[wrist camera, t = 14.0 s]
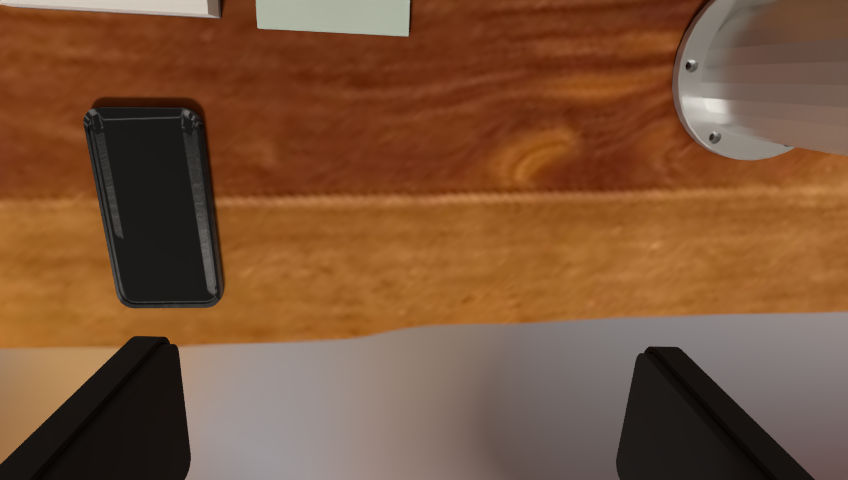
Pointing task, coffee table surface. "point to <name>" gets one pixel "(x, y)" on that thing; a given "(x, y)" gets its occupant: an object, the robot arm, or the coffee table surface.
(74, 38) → the coffee table surface
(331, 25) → the green mat
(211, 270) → the phone
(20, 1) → the pocket plate
